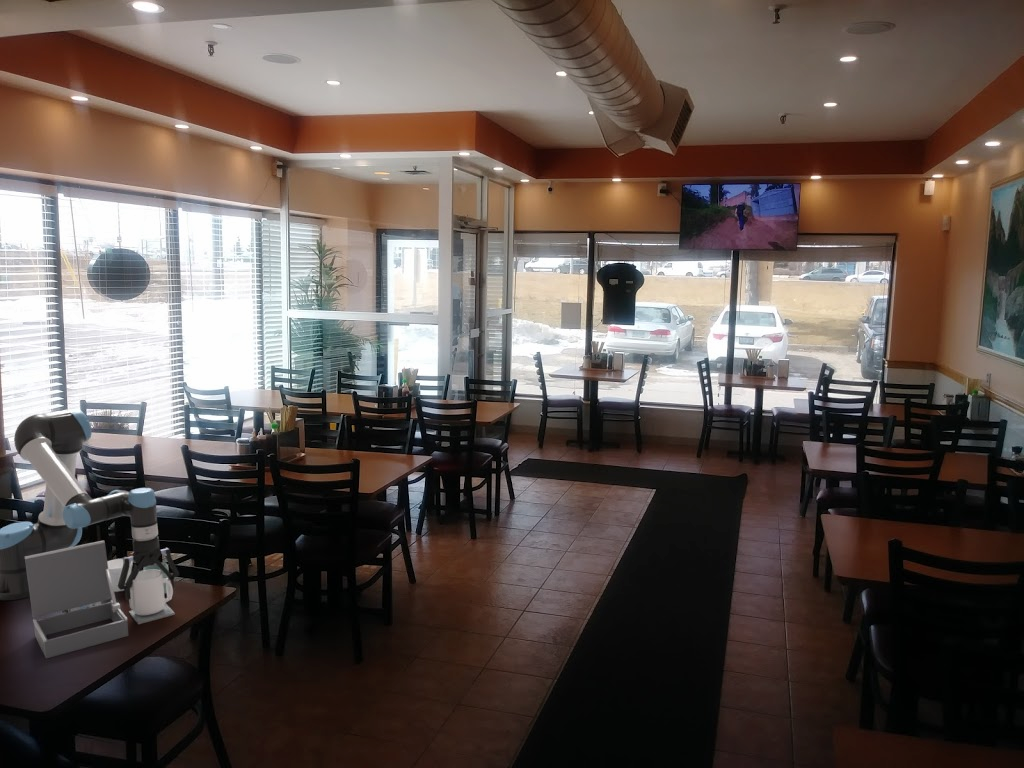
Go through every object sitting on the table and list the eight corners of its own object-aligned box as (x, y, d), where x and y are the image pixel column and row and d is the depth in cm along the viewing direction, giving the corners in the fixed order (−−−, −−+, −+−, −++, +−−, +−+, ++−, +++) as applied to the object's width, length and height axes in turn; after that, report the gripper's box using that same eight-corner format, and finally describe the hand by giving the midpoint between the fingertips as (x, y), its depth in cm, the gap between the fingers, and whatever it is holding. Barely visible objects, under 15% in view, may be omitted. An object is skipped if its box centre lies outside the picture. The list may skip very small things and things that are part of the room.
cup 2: (149, 601, 271) (147, 572, 270) (142, 594, 277) (139, 566, 275) (173, 594, 276) (171, 566, 275) (165, 588, 282) (163, 560, 280)
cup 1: (114, 582, 287) (112, 557, 286) (140, 584, 286) (138, 558, 285) (96, 594, 278) (94, 568, 276) (123, 595, 276) (121, 569, 275)
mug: (132, 607, 263) (129, 572, 261) (172, 599, 268) (169, 566, 267) (133, 618, 255) (130, 583, 253) (174, 610, 260) (171, 575, 258)
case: (33, 635, 247) (28, 585, 245) (114, 614, 261) (109, 567, 259) (45, 658, 232) (40, 606, 230) (130, 635, 246) (125, 585, 244)
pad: (129, 612, 262) (129, 611, 262) (164, 603, 269) (164, 602, 269) (138, 624, 254) (138, 622, 254) (174, 614, 260) (174, 612, 260)
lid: (33, 618, 245) (32, 617, 246) (112, 598, 259) (111, 597, 260) (25, 557, 245) (24, 556, 246) (104, 540, 259) (103, 540, 260)
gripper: (108, 548, 247) (114, 617, 251) (186, 532, 262) (191, 597, 265) (102, 542, 253) (109, 609, 256) (179, 526, 268) (184, 590, 271)
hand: (151, 603), depth 261 cm, fingers closed on mug, 11 cm apart
